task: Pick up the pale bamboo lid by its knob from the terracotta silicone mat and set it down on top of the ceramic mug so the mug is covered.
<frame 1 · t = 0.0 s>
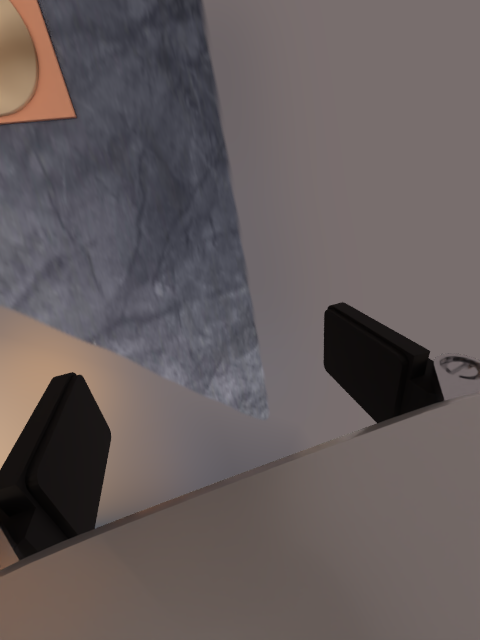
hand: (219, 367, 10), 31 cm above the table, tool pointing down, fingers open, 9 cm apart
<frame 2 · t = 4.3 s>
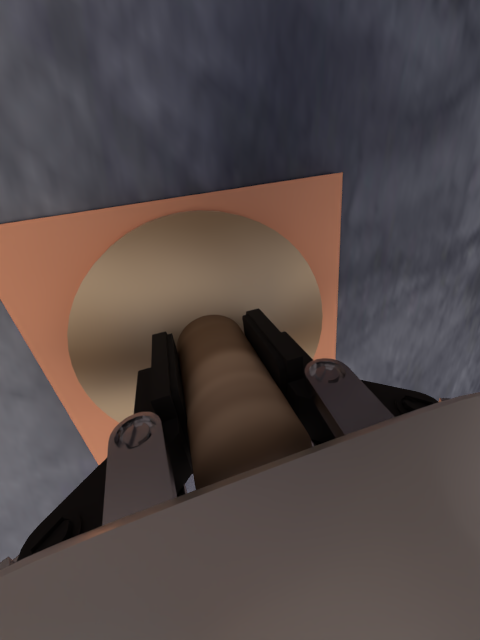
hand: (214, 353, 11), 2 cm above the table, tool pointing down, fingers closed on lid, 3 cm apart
lid: (207, 335, 13), point 1 cm above the table, touching gripper, mat
mat: (205, 329, 13), on the table
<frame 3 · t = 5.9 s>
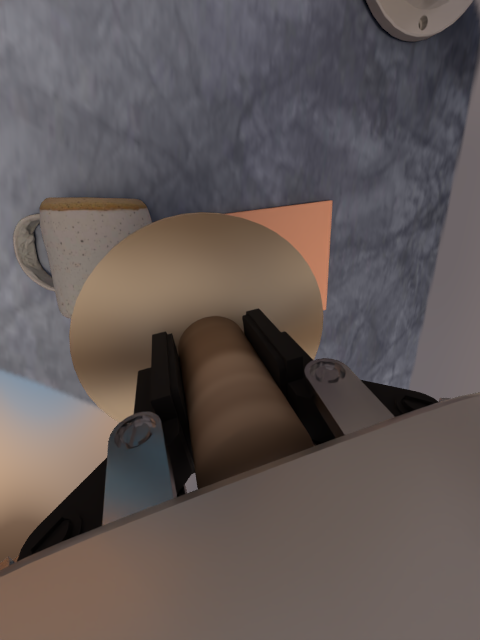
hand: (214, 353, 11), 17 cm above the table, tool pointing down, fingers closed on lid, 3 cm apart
ceramic mug: (98, 251, 23), on the table
lid: (208, 336, 13), point 15 cm above the table, touching gripper
mat: (267, 269, 28), on the table
when the fingers open (12 cm above the table, at t = 7.7 s): lid drops 2 cm, resting on ceramic mug.
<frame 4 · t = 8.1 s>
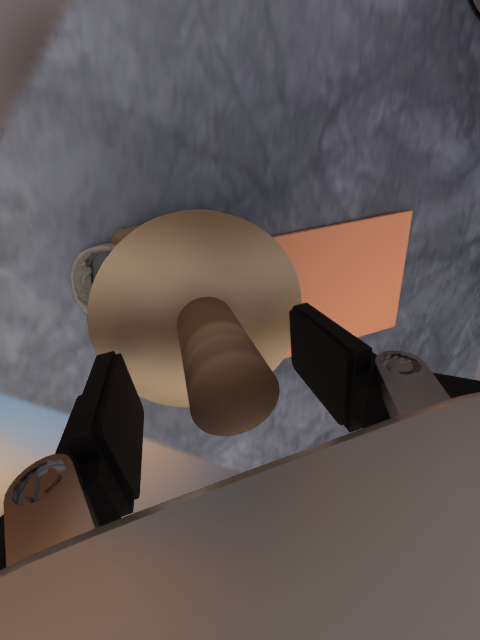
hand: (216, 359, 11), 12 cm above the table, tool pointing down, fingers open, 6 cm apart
ceramic mug: (156, 280, 21), on the table, touching lid
lid: (203, 316, 15), point 8 cm above the table, touching ceramic mug
mat: (337, 287, 26), on the table
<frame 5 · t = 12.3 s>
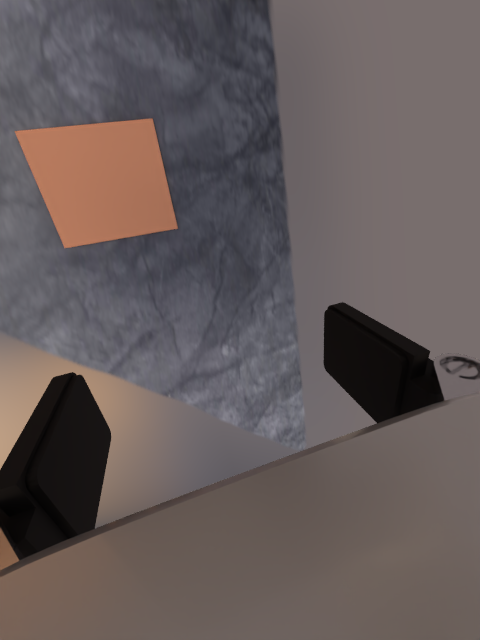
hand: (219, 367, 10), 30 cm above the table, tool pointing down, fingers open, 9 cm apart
mat: (107, 186, 32), on the table
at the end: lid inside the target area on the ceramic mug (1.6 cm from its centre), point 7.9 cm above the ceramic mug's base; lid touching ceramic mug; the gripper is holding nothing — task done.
